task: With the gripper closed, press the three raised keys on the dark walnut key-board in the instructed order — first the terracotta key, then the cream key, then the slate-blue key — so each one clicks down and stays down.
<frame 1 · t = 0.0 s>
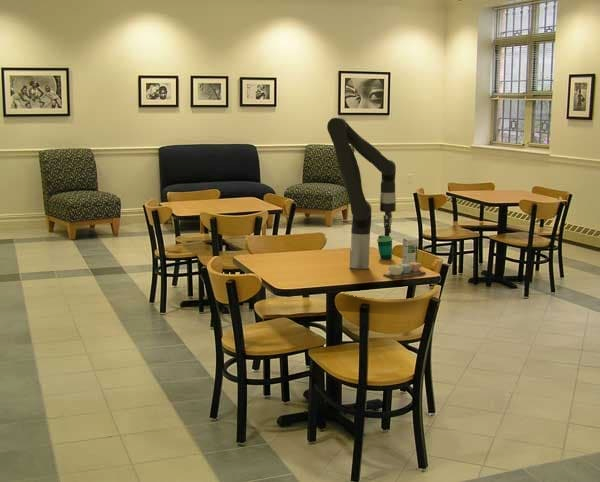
hand: (387, 234, 393), 17 cm above the table, tool pointing down, fingers open, 8 cm apart
cup: (383, 259, 421), on the table
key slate: (405, 268, 382), point 3 cm above the table, slide at 0.0 cm
syrup box: (409, 267, 403), on the table
key terracotta: (414, 267, 386), point 3 cm above the table, slide at 0.0 cm
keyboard: (404, 275, 382), on the table
key cream: (395, 270, 378), point 3 cm above the table, slide at 0.0 cm
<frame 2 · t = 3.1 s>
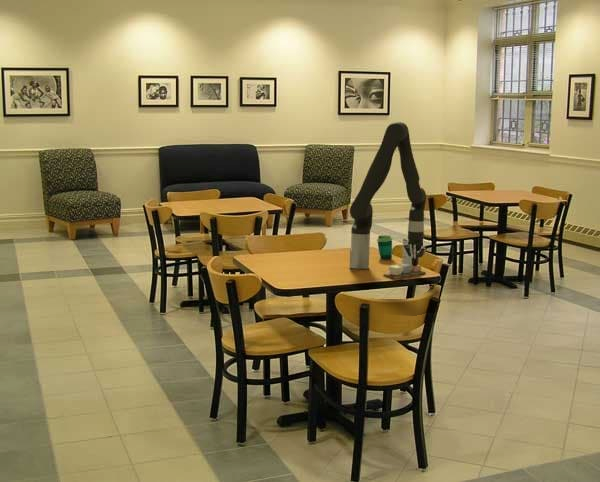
hand: (414, 265, 386), 4 cm above the table, tool pointing down, fingers closed
key terracotta: (413, 269, 386), point 2 cm above the table, slide at 1.1 cm, touching gripper
everything else where it was.
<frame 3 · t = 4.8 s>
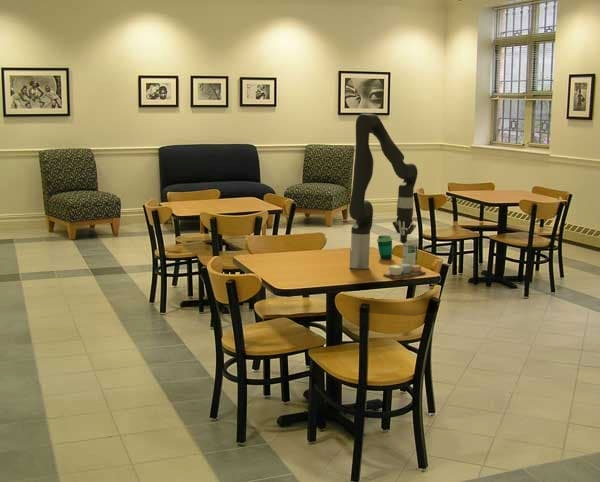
hand: (403, 242, 379), 16 cm above the table, tool pointing down, fingers closed
key terracotta: (413, 269, 386), point 2 cm above the table, slide at 1.2 cm
everything else where it was.
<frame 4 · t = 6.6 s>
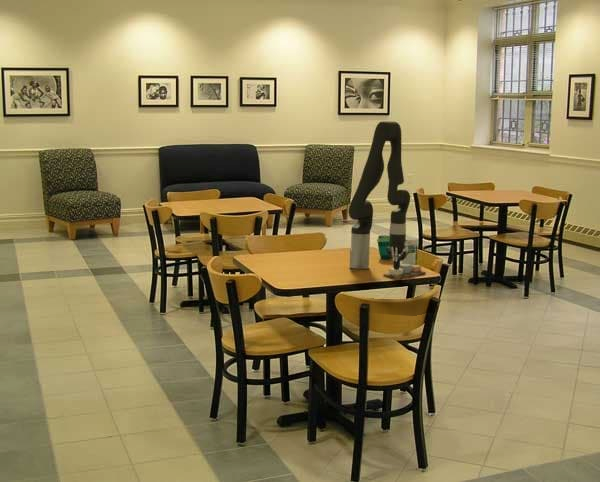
hand: (396, 269, 377), 4 cm above the table, tool pointing down, fingers closed
key cream: (395, 272, 378), point 2 cm above the table, slide at 1.1 cm, touching gripper
everything else where it was.
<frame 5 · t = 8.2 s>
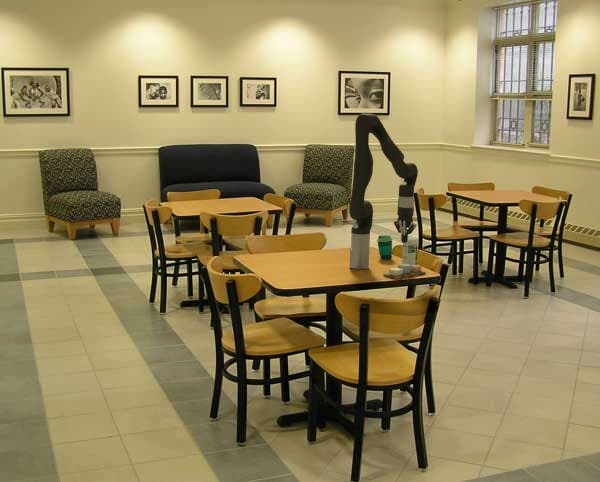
hand: (404, 242, 379), 16 cm above the table, tool pointing down, fingers closed
key cream: (395, 272, 378), point 2 cm above the table, slide at 1.2 cm
everything else where it was.
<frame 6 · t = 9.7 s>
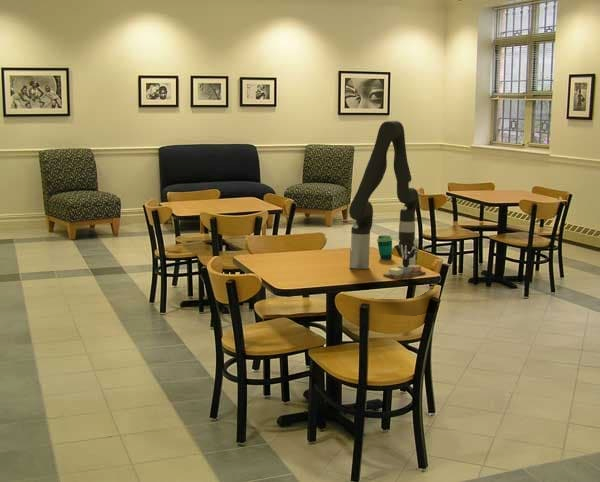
hand: (405, 266, 382), 4 cm above the table, tool pointing down, fingers closed
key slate: (404, 270, 382), point 2 cm above the table, slide at 0.7 cm, touching gripper
everything else where it was.
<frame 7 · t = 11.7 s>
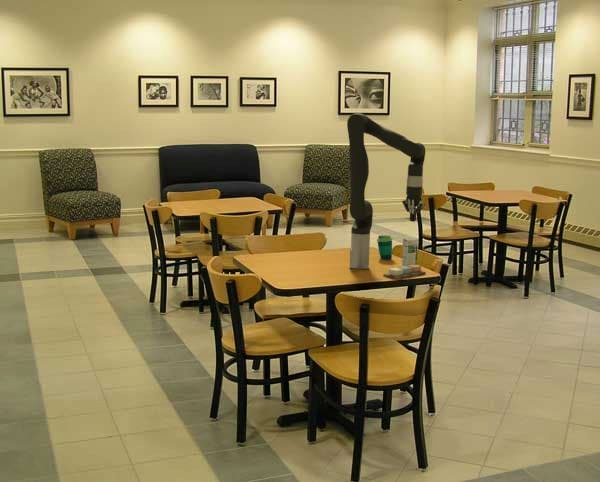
hand: (412, 221, 384), 25 cm above the table, tool pointing down, fingers closed
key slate: (404, 271, 382), point 2 cm above the table, slide at 1.2 cm
everything else where it was.
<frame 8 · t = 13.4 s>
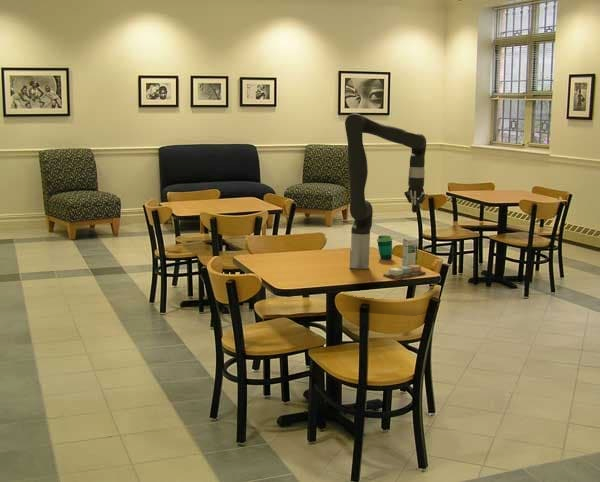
hand: (414, 212, 387), 29 cm above the table, tool pointing down, fingers closed
nothing on the table moved.
at the end: key terracotta slide at 1.2 cm; key cream slide at 1.2 cm; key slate slide at 1.2 cm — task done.
